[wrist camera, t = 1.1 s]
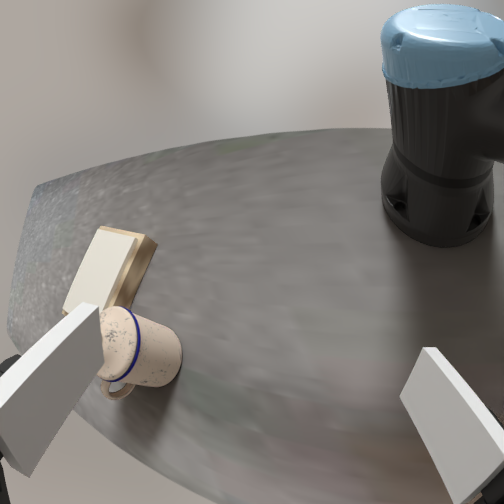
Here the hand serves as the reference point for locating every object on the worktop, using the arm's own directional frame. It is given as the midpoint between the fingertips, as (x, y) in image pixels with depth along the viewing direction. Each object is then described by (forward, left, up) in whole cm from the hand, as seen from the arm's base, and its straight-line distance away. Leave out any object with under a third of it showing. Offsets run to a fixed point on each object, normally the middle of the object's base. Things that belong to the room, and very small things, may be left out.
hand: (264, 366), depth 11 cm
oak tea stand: (-1, -39, -21) cm, 44 cm away
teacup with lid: (+7, -23, -21) cm, 32 cm away
